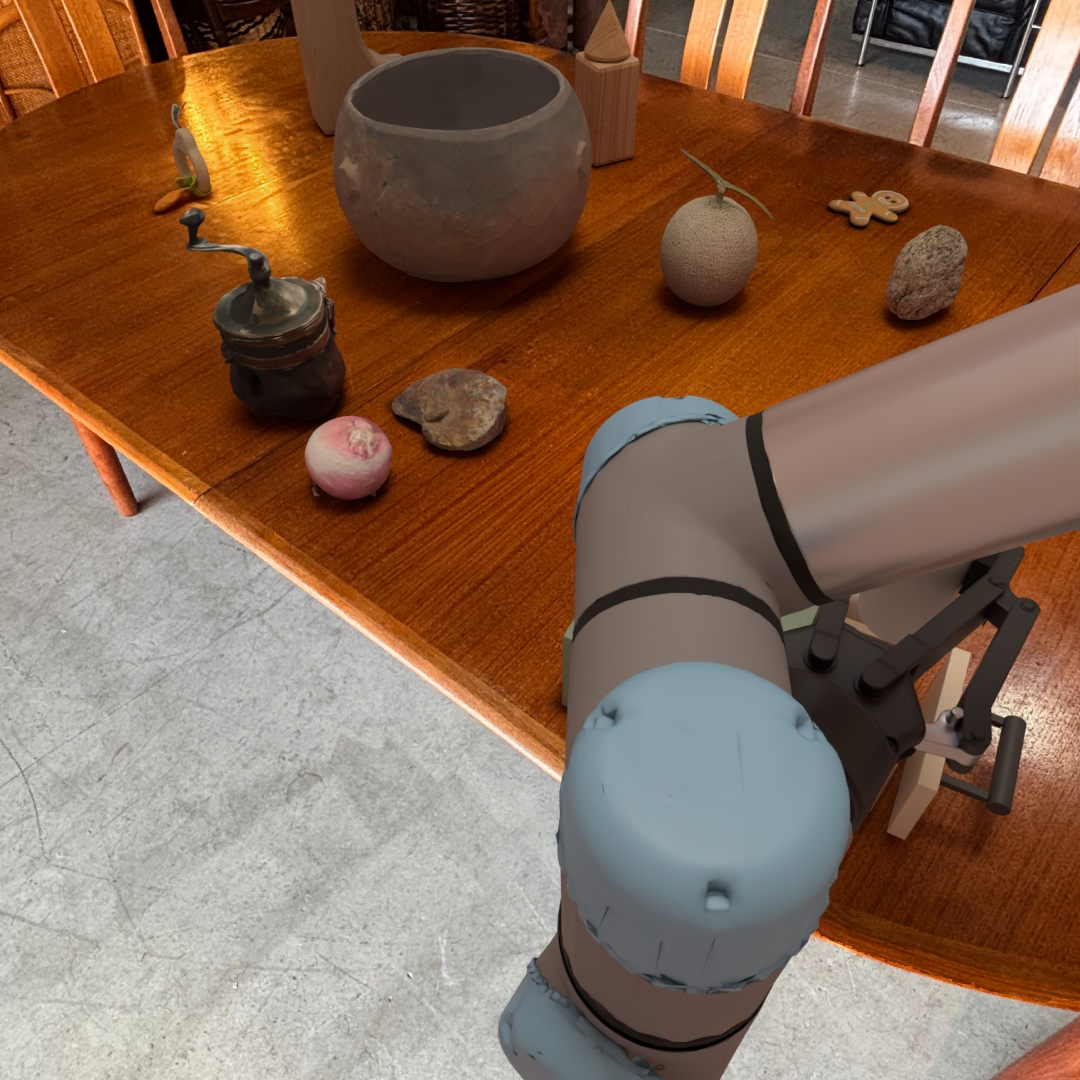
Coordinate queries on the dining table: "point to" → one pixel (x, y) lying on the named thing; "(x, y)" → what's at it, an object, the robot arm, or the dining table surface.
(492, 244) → the clay pot
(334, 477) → the onion
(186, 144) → the rattle
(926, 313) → the stone
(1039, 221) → the dining table surface
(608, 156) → the decorative item
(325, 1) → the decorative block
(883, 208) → the cookie
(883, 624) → the beverage can
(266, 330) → the coffee grinder
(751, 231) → the fruit
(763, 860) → the robot arm
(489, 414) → the brown rock
